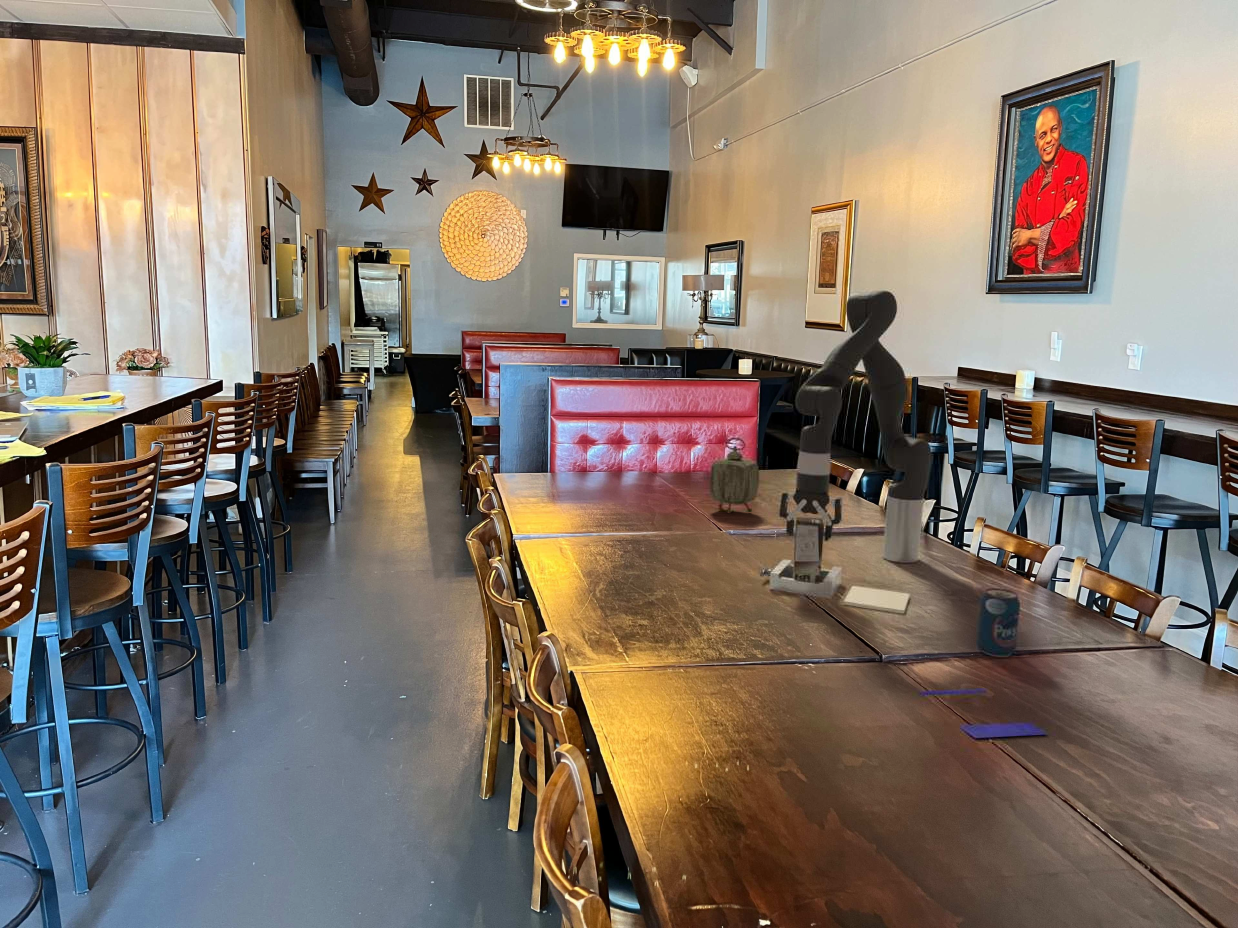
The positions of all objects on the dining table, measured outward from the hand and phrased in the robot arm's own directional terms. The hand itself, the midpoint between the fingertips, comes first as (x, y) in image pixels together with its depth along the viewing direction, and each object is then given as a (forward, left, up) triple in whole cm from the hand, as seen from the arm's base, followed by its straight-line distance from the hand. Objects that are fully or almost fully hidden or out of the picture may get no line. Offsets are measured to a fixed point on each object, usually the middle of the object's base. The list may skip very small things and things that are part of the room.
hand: (808, 537), depth 203 cm
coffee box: (0, 0, -12) cm, 12 cm away
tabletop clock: (-70, -39, -12) cm, 81 cm away
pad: (+3, +17, -12) cm, 21 cm away
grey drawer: (0, -2, -12) cm, 12 cm away
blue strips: (+52, +38, -13) cm, 65 cm away
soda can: (+24, +42, -12) cm, 50 cm away
